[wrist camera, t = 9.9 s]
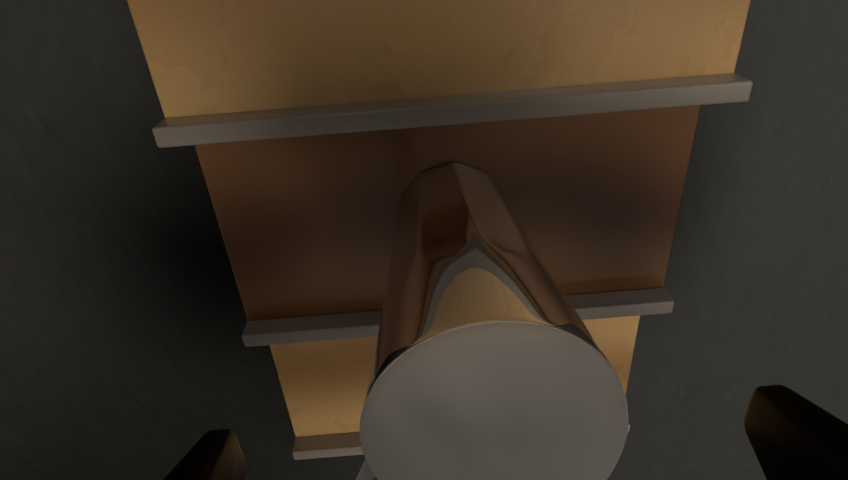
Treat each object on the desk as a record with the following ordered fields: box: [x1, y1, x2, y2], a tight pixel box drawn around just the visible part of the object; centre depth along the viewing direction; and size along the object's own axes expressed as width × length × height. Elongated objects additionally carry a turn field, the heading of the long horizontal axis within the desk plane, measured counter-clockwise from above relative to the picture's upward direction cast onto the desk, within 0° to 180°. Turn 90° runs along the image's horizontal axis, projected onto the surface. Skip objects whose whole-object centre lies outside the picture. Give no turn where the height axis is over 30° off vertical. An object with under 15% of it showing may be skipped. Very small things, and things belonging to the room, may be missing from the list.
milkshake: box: [355, 163, 628, 480], centre depth 12 cm, size 4×5×10 cm
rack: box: [127, 0, 753, 460], centre depth 16 cm, size 22×14×4 cm, turn 4°
